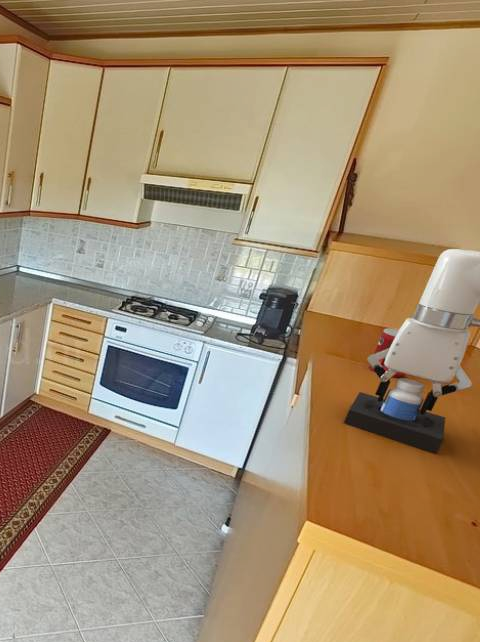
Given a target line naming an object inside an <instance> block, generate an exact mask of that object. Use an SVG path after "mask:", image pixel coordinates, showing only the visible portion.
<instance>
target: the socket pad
mask: <svg viewBox="0 0 480 642" xmlns="http://www.w3.org/2000/svg"><path fill="white" fill-rule="evenodd" d="M378 398H379V396H376V395H372V394H369V393H365V392H361V391H359V392H358V394H357V396H356V397H355V399H354V401H353V402H352V404H351V406H349V407H350V408H349V409H348V411H347V414H346V416H345V418H344V420H343V424H346V425H348V426H352V427H354V428H357V429H361V430H363V431H367V432H370V433H373V434H375V435H378V436H382V437H385V438H387V439H391V440H394V441H396V442H399V443H402V444H405V445H408V446H411V447H414V448H416V449H420V450H423V451H426V452H429V453H432V454H435V455H436V454H438V451H439V449H440V447H441V446H442V443H443V441H444V435H445V427H446V426H445V425H446V416H442V415H438V414H436V413H432V412H430V411H429V412H428V411H426V412H425V415H423V414H421V413H420V409H419V412H418V414H417V416H416V418H415V420H414V421H407V420H402V419H398V418H395V417H392V416H389V415H387V414H385V413H383V412H381V411H380V409H381V406H382V404H383V402H384V400H385V398H383V400H382V401H377V400H378Z"/></svg>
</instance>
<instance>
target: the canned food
mask: <svg viewBox="0 0 480 642" xmlns="http://www.w3.org/2000/svg"><path fill="white" fill-rule="evenodd" d="M399 329H400V328H391V327H389V328H388V327H387V328H384V329H383V330H382V333H381V335H380V337H379V340H378V343H377V345H376V348H375V350H374V352H373V354H376V353H378V352H381V351H383V350H386V349H388V348H390V347H391V345H392V343H393V341H394V339H395V337H396V335H397V333H398V331H399ZM385 358H386V357H385ZM385 358H382V359H380V360H378V361H379V363H380V364H381V365H382V367H383V368H384V370H385V371H386V370H387V369H389V368H387V367H386V366H385V364H384V362H385ZM369 370H371V371H373V372H375V371H374V369H373V367H372V366H371V365H370V364H369ZM406 375H407V374H405V373H401V372H397V373H396V374H395V375H393V376H392V377H391V378H397V379H400V378H404V377H405V376H406Z"/></svg>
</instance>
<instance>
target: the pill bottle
mask: <svg viewBox="0 0 480 642" xmlns="http://www.w3.org/2000/svg"><path fill="white" fill-rule="evenodd" d="M425 386H426V385H425V384H423V383H421V382H419V381H417V380H413V379H410V378H409V379H408V378H404V377H402V378H397V381H396V383H395V387H392V388H389V390H387V392H386V394H385V396H384V399H385V400H384V402H383V404H382V406H381V409H380V411H381V412H383V413H385V414H387V415H389V416H392V417H395V418H398V419H402V420H407V421H414V420H415V418H416V416H417V414H418V412H419V410H420V409H421V407H422V405H423V403H424V397H423V396H422V394H423V392H424V389H425Z"/></svg>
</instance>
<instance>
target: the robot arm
mask: <svg viewBox="0 0 480 642" xmlns="http://www.w3.org/2000/svg"><path fill="white" fill-rule="evenodd" d="M479 304H480V251H478V250H469V249H461V248H450V249H446V250H444V251H443V252H441V254H439V257H438V258H437V261H436V263H435V265H434V267H433V269H432V272H431V275H430V277H429V278H428V281H427V283H426V286H425V288H424V290H423V292H422V295H421V296H420V300H419V303H417V307H416V309H415V312H414V313H413V316H412V317H407V318H406V319H405V321H404V322H403V323H402V325H401V326H400V327H399V328H398V329H399V331H398V333H397V335H396V337H395V339H394V341H393V343H392V345H391V347H390V348H388V349H386V350H383V351H381V352H378V353H376V354H374V353H373V354H370V355H368V357H367V358H366V359H367V362H368V364H369V366H370V365H371V366H372V367H373V369H374V371H373V372H375V374H376V375H377V377H378V378H379V381H380V382H379V384H378V387H377V389H376V391H375V394H374V396H377V397H379V398H378V400H377V401H382V400H383V399H385V396H386V394H387V392H388V388H389V387H390V384H391V378H393V377H392V376H393V375H395V374H396V373H397V372H401V373H405V374H406V375H408V376H413V377H417V378H421V379H424V380H428V381H431V385H432V388H431V390H430V391H428V393H427V395H426V396H425V399H424V400H423V403H422V405H421V407H420V409H419V410H420V413H421V414H423V415H425V412H427V411H429V412H432V411H433V409H434V407H435V405H436V402H437V400H438V398H440V397H442V396H445V395H448V394H452V393H455V392H457V391H461V390H464V389H468V388H472V386H473V383H472V381H471V380H470V378H469V377H468V375H467V374H466V372H465V370H464V369H463V368H462V366H461V363H462V362H463V361H462V360H463V358H464V356H465V353H466V351H467V347H468V344H469V341H470V336H471V331H470V330H468V328H470V327H476V328H480V319H479V318H477V317H475V316H474V314H475V312H476V310H477V308H478V306H479ZM385 357H386V358H385ZM382 358H385V362H384V364H385V366H386V367H387V368H389V369H387V370H386V371H385V370H384V368H383V367H382V365H381V364H380V363H379V361H378V360H380V359H382ZM454 377H456V379H457V380H458V381H457V382H453V383H450V382H452V381H453V379H454ZM443 383H444V384H445V383H449V384H445V385H443Z"/></svg>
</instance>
